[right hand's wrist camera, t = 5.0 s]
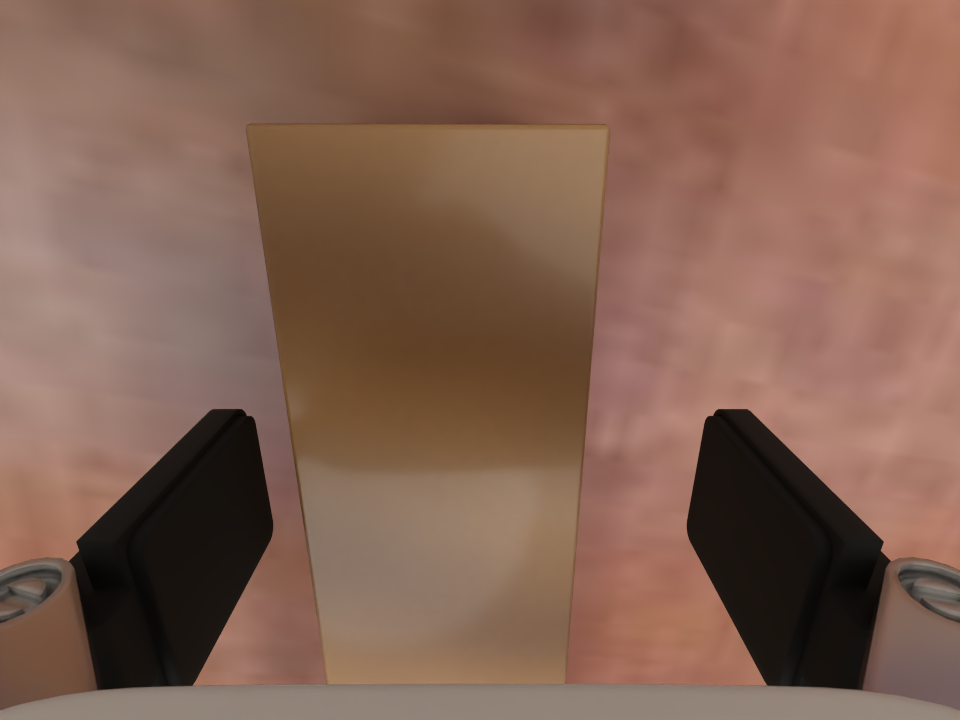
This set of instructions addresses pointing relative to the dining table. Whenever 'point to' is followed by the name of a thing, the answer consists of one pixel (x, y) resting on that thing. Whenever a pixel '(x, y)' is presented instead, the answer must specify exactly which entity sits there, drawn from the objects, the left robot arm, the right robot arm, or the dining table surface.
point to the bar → (436, 384)
